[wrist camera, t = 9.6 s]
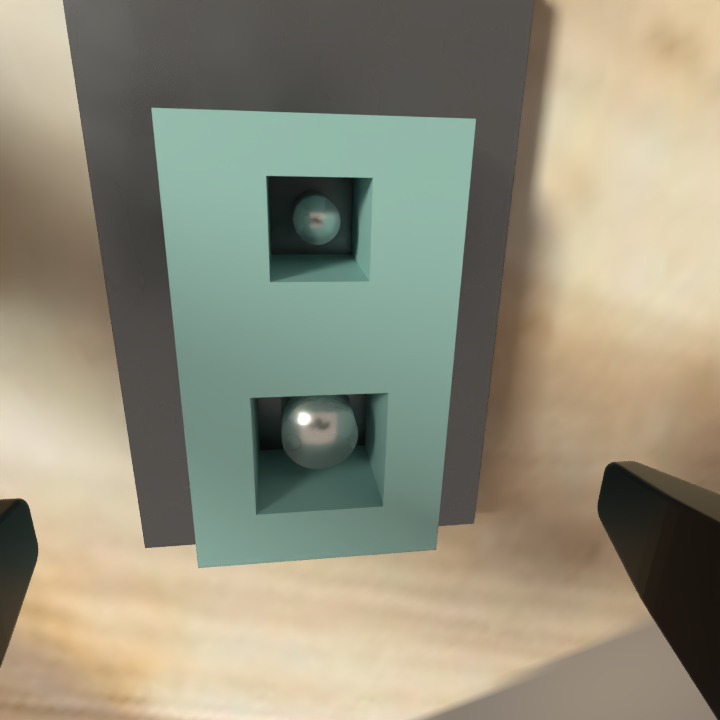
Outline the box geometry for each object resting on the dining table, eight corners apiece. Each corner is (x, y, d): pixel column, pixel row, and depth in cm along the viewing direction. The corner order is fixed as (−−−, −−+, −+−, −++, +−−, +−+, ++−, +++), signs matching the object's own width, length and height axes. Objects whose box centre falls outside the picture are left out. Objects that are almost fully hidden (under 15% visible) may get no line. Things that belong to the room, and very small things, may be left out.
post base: (154, 521, 21) (127, 602, 17) (73, -56, 14) (2, -124, 11) (461, 499, 22) (497, 570, 19) (516, -26, 16) (588, -77, 12)
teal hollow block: (410, 484, 20) (436, 549, 17) (211, 495, 19) (198, 568, 16) (434, 123, 16) (476, 119, 12) (178, 115, 15) (151, 108, 11)
